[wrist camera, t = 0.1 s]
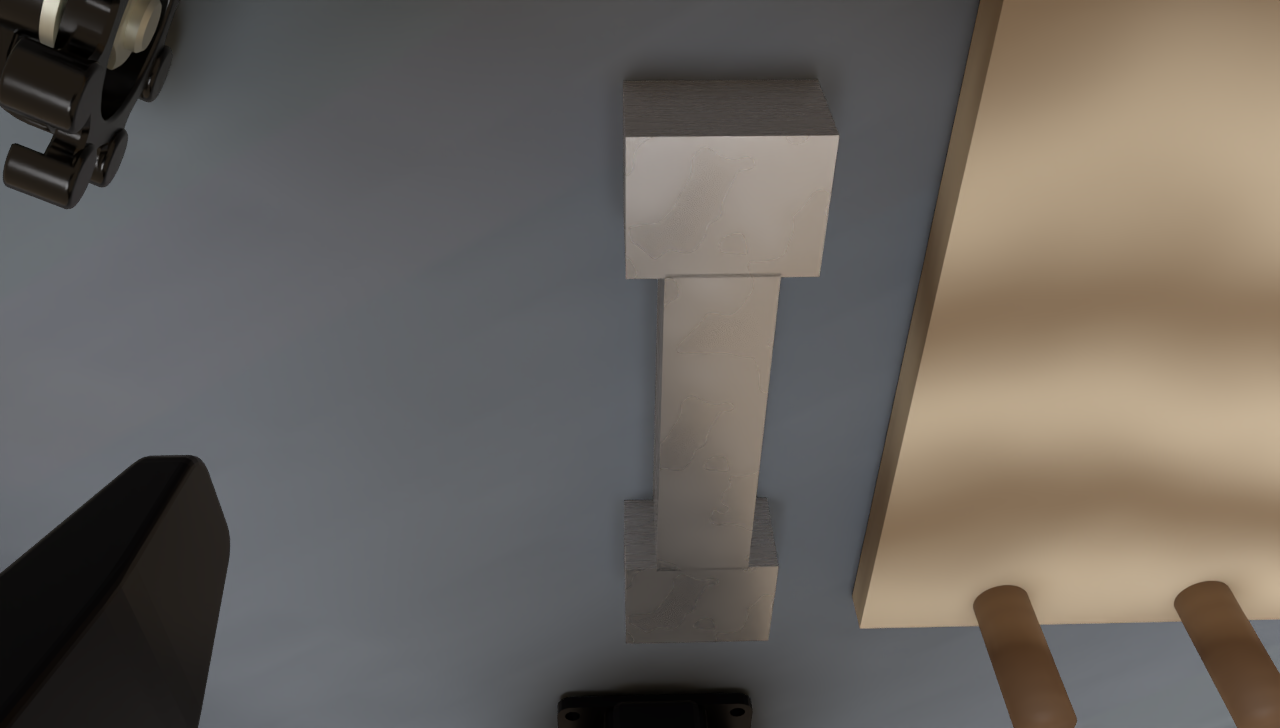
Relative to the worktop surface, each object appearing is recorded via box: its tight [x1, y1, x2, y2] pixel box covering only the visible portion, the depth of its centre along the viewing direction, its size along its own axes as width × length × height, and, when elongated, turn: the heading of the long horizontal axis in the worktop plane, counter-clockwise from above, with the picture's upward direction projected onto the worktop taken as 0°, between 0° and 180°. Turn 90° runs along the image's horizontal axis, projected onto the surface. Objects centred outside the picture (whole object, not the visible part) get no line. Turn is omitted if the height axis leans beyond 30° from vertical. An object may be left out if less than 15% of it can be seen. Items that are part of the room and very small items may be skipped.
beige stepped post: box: [623, 80, 839, 644], centre depth 25 cm, size 16×4×2 cm, turn 0°
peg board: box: [852, 0, 1280, 728], centre depth 23 cm, size 22×14×5 cm, turn 0°
